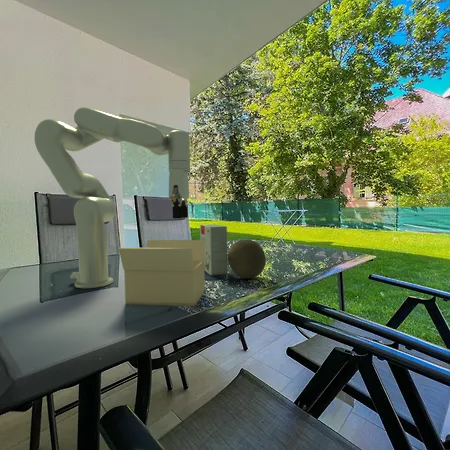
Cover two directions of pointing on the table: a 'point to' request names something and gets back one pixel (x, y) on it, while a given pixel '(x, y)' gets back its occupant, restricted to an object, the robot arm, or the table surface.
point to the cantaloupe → (246, 259)
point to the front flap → (157, 259)
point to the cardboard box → (165, 286)
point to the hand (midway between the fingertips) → (180, 217)
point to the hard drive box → (215, 248)
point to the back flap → (182, 246)
